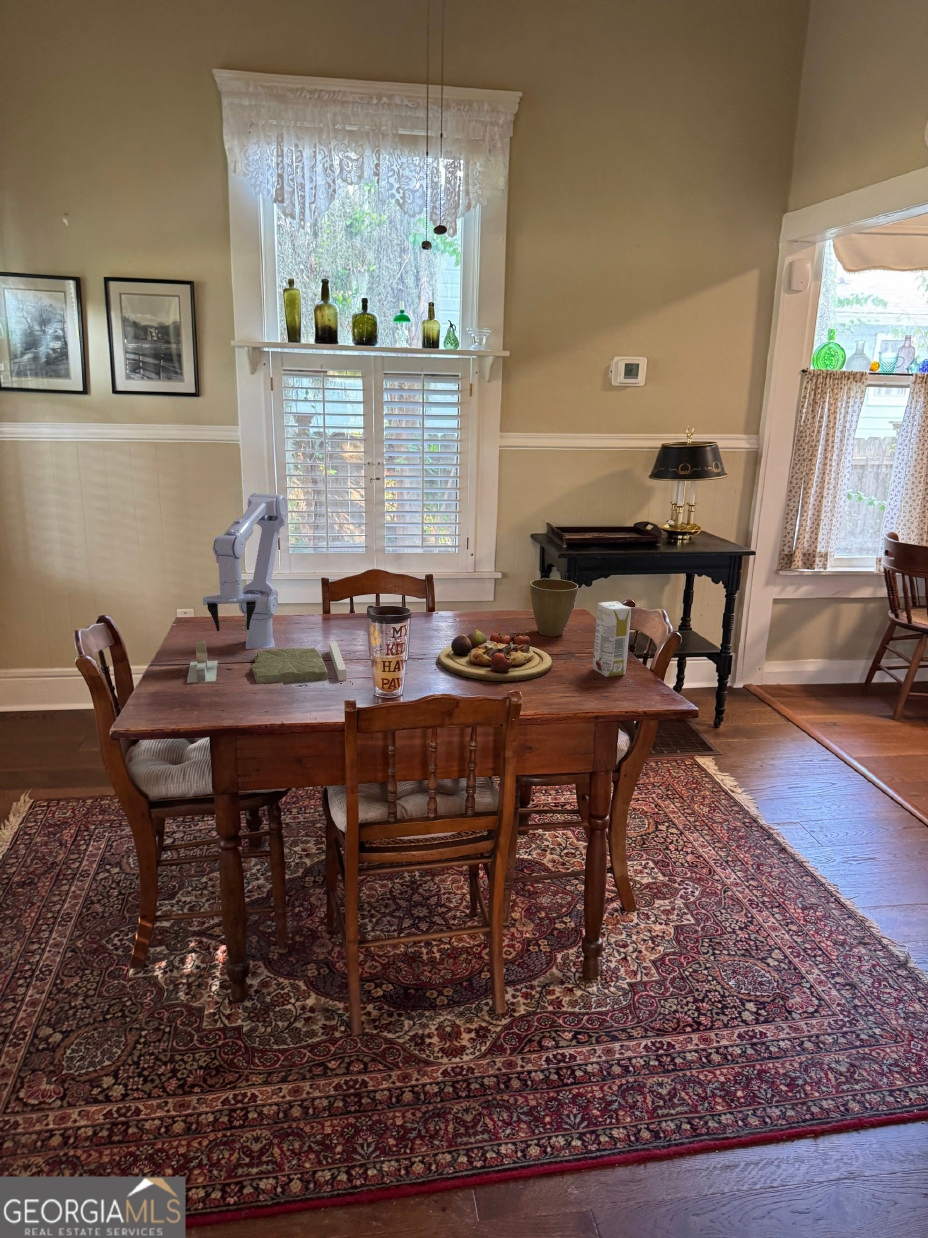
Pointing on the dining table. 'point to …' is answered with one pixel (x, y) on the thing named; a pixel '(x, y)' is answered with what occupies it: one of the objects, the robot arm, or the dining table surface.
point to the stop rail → (337, 661)
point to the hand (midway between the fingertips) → (233, 629)
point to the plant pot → (552, 604)
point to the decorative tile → (289, 666)
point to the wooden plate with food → (495, 657)
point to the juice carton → (611, 638)
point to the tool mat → (209, 675)
